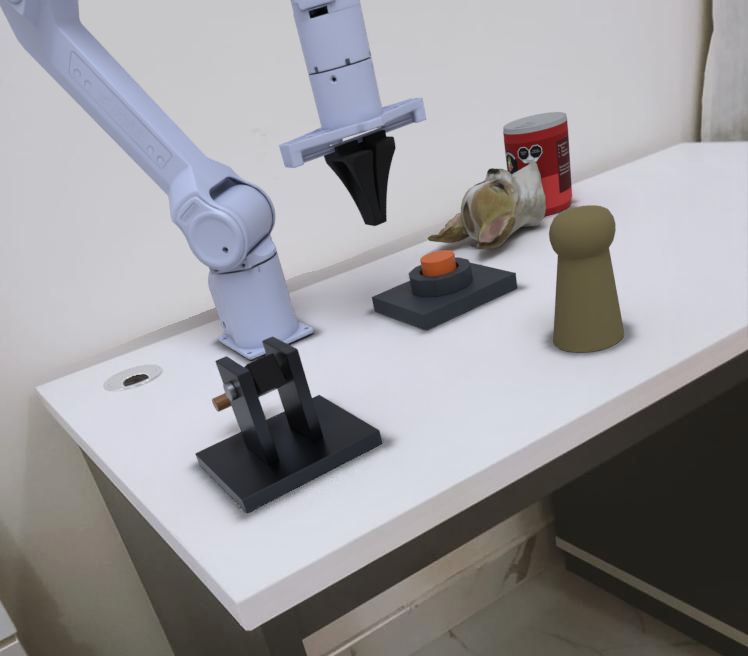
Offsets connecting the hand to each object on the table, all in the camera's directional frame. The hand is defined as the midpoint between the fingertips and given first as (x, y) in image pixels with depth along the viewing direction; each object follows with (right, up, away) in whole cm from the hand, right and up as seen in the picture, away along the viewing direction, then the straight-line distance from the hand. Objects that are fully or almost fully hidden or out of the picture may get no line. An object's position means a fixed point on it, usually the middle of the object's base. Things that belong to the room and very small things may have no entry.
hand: (375, 223), depth 73 cm
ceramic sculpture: (+16, +6, +21) cm, 27 cm away
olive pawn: (+19, -13, -7) cm, 24 cm away
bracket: (-7, -23, -12) cm, 27 cm away
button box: (+7, -5, +8) cm, 12 cm away
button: (+7, -3, +6) cm, 10 cm away
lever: (-9, -19, -13) cm, 25 cm away
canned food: (+22, +12, +28) cm, 38 cm away
